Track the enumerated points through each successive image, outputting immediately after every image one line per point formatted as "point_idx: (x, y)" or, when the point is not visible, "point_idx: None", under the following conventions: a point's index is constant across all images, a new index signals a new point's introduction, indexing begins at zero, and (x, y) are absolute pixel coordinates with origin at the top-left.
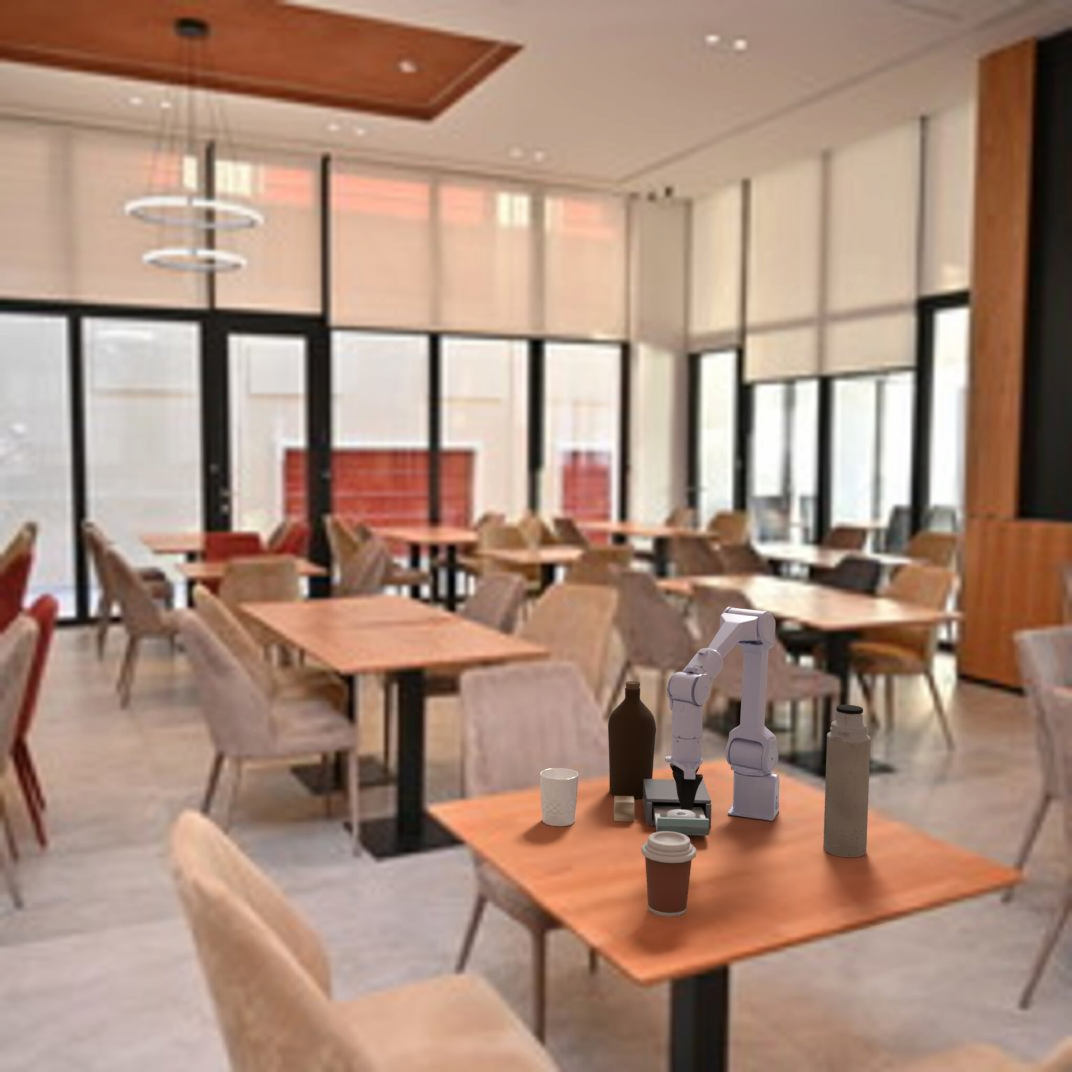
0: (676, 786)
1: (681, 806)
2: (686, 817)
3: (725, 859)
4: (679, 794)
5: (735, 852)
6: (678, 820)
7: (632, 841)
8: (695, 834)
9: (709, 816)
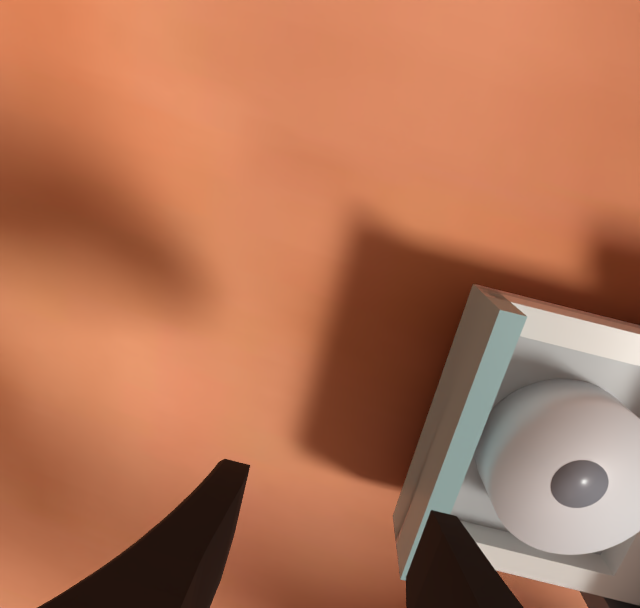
0: (476, 606)
1: (210, 475)
2: (503, 489)
3: (184, 486)
4: (139, 539)
5: (255, 548)
6: (451, 428)
7: (485, 136)
8: (411, 465)
9: (594, 606)
